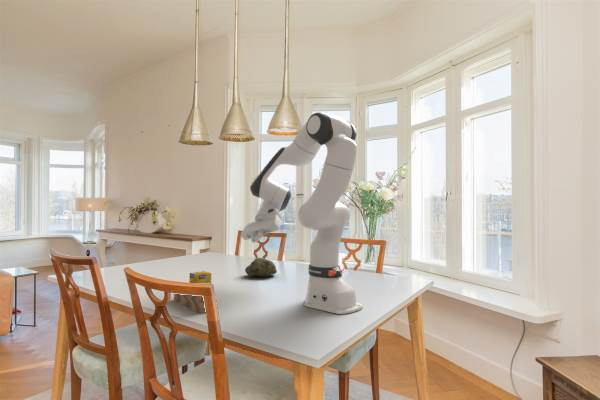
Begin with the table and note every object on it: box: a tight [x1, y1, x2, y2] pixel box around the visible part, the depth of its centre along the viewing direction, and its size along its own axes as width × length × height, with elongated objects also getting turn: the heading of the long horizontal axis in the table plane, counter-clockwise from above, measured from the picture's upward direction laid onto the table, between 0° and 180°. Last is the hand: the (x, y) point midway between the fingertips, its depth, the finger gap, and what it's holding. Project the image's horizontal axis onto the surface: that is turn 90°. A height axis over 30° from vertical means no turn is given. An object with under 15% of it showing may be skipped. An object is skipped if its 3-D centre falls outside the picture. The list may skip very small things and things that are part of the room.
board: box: [173, 293, 206, 315], centre depth 125 cm, size 22×3×6 cm, turn 42°
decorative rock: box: [244, 257, 277, 278], centre depth 177 cm, size 15×16×10 cm
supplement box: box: [188, 270, 212, 285], centre depth 130 cm, size 6×6×11 cm
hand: (254, 241), depth 145 cm, fingers closed
